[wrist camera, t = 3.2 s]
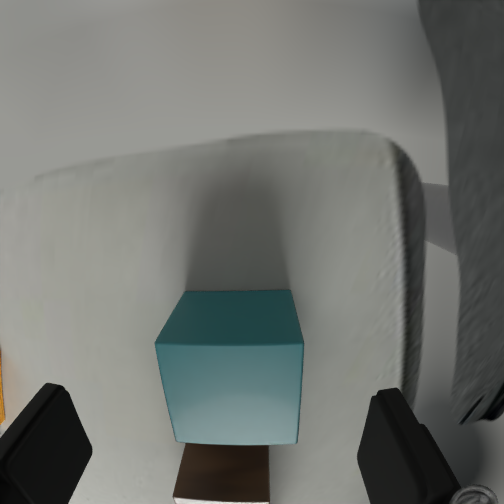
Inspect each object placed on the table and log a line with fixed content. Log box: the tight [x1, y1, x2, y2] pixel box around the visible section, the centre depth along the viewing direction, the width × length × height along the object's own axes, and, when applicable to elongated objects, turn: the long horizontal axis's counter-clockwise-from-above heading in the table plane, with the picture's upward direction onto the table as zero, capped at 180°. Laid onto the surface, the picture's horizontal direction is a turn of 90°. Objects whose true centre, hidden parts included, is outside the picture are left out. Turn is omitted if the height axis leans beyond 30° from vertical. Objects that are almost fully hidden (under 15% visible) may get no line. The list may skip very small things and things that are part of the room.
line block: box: [173, 443, 270, 504], centre depth 14 cm, size 5×5×5 cm
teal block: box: [155, 290, 304, 445], centre depth 12 cm, size 5×5×5 cm
